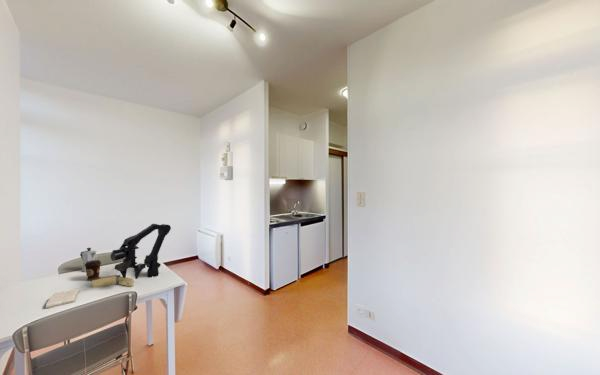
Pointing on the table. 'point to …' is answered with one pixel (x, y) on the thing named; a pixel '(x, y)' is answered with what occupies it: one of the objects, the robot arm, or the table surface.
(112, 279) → the block
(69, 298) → the washcloth
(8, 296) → the table surface
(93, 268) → the brown rounded piece
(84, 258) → the coffee maker
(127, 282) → the swing leaf
